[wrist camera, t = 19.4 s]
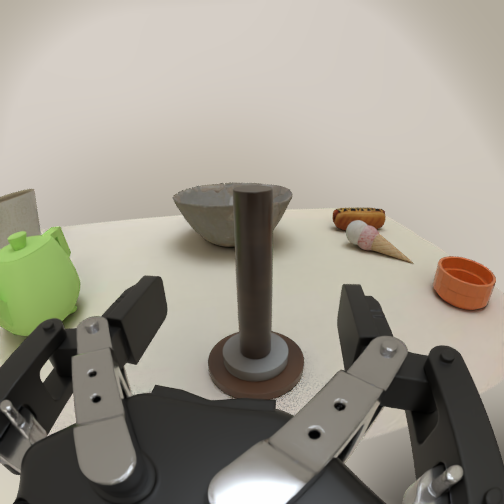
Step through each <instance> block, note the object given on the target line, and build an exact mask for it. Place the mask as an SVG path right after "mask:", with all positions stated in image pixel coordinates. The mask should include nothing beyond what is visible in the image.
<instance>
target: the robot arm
mask: <svg viewBox="0 0 504 504" xmlns="http://www.w3.org/2000/svg"><path fill="white" fill-rule="evenodd" d="M166 315H167V302H166V297H165V292H164V287H163V281H162V279H161V277H159V276H143V277H142V279H141V280H140V281H139V282H138V283H137V284H136V285H134V286H132V287H130V288H128V289H127V290H125V291H124V292H123V293H122V294H121V296H120V297H119V298H118V299H117V300H116V301H115V302H114V303H113V304H112V305H111V306H110V307H109V309H108V310H107V311H106V312H105V313H104V314H103V315H102V316H101V317H100V316H94V317H90V318H87V319H85V320H83V321H82V322H81V323H80V324H79V325H78V326H77V328H74V329H65V328H64V325H63V323H62V321H61V320H60V319H57V318H52V319H48V320H45V321H43V322H42V323H40V324H39V325H38V326H37V327H36V328H35V329H34V331H33V332H32V333H31V334H30V335H29V336H28V337H27V338H26V339H25V340H24V341H23V342H22V343H21V345H20V346H19V347H18V348H17V349H16V350H15V351H14V352H13V353H12V355H11V356H10V357H9V358H8V359H7V360H6V361H5V363H4V364H3V365H2V366H1V367H0V463H1V464H2V465H4V466H5V467H6V468H7V469H8V470H9V471H11V472H12V473H13V474H16V475H20V485H19V490H18V494H17V498H16V500H15V502H14V503H13V504H386V503H385V502H384V501H383V500H381V499H380V498H379V497H378V496H377V495H376V494H375V493H374V492H373V491H372V490H371V489H370V488H368V486H366V485H365V484H364V483H363V482H362V481H361V480H360V479H359V478H358V477H357V476H356V475H355V474H354V473H353V472H352V471H351V470H350V469H349V468H348V467H347V466H346V465H345V463H346V461H347V460H348V459H349V458H350V456H351V455H352V454H353V452H354V450H355V449H356V448H357V446H358V445H359V443H360V442H361V440H362V439H363V437H364V436H365V435H366V433H367V432H368V430H369V429H370V428H371V426H372V425H373V423H374V422H375V420H376V419H377V417H378V416H379V414H380V413H381V411H382V410H383V408H384V407H391V408H397V409H403V410H405V413H406V418H407V423H408V429H409V434H410V440H411V446H412V453H413V459H414V467H415V475H416V482H414V483H413V484H412V485H411V486H410V487H409V488H408V489H407V491H406V492H405V494H404V497H403V504H504V465H503V461H502V458H501V454H500V451H499V447H498V445H497V441H496V438H495V435H494V432H493V429H492V427H491V424H490V421H489V418H488V416H487V413H486V410H485V408H484V405H483V403H482V400H481V398H480V395H479V393H478V391H477V388H476V386H475V384H474V381H473V379H472V377H471V375H470V372H469V370H468V368H467V366H466V364H465V362H464V360H463V358H462V356H461V354H460V353H459V352H458V351H457V350H455V349H453V348H451V347H449V346H436V347H434V348H432V349H431V351H430V353H429V355H428V356H426V355H420V354H415V353H411V352H408V349H407V347H406V345H405V344H404V343H403V342H402V341H401V340H399V339H397V338H395V337H393V334H392V332H391V330H390V327H389V325H388V322H387V320H386V318H385V315H384V313H383V311H382V308H381V306H380V304H379V302H378V301H377V300H376V299H374V298H373V297H372V296H365V295H364V292H363V290H362V287H361V285H360V284H343V286H342V290H341V298H340V304H339V311H338V319H337V327H338V333H339V339H340V345H341V350H342V356H343V362H344V368H345V371H344V370H340V371H338V372H337V373H336V374H335V375H334V376H333V377H332V379H331V380H330V381H329V382H328V383H327V384H326V385H325V386H324V387H323V388H322V389H321V390H320V391H319V392H318V393H317V394H316V395H315V396H314V397H313V398H312V399H311V400H310V401H309V402H308V403H307V404H306V405H305V406H304V407H303V408H302V409H301V410H300V411H299V412H298V413H297V414H296V415H295V416H293V415H291V414H289V413H287V412H284V411H282V410H278V409H275V408H276V400H267V399H253V398H237V399H226V400H208V399H205V398H202V397H199V396H197V395H194V394H192V393H189V392H187V391H184V390H181V389H175V388H169V387H164V386H159V385H155V387H154V389H153V391H152V393H142V394H137V395H133V394H132V391H131V387H130V384H129V381H128V377H127V373H126V370H125V368H124V365H125V364H126V363H130V364H135V365H137V363H138V362H139V360H140V358H141V357H142V355H143V354H144V352H145V350H146V349H147V347H148V345H149V344H150V342H151V341H152V339H153V337H154V336H155V334H156V333H157V331H158V329H159V328H160V326H161V325H162V323H163V322H164V320H165V318H166ZM48 359H49V360H50V362H51V364H52V365H53V367H54V369H53V370H52V371H51V373H50V374H49V376H48V377H47V378H46V380H45V381H44V382H43V383H42V381H41V379H40V370H41V368H42V367H43V365H44V364H45V363H46V362H47V360H48ZM72 393H73V395H74V406H75V416H76V423H75V424H73V425H71V426H69V427H67V428H65V429H62V430H60V431H58V432H56V433H54V434H51V435H49V436H47V435H48V433H49V432H50V430H51V428H52V426H53V425H54V423H55V421H56V420H57V418H58V416H59V415H60V413H61V411H62V410H63V408H64V406H65V405H66V403H67V401H68V400H69V398H70V397H71V395H72Z"/></svg>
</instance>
